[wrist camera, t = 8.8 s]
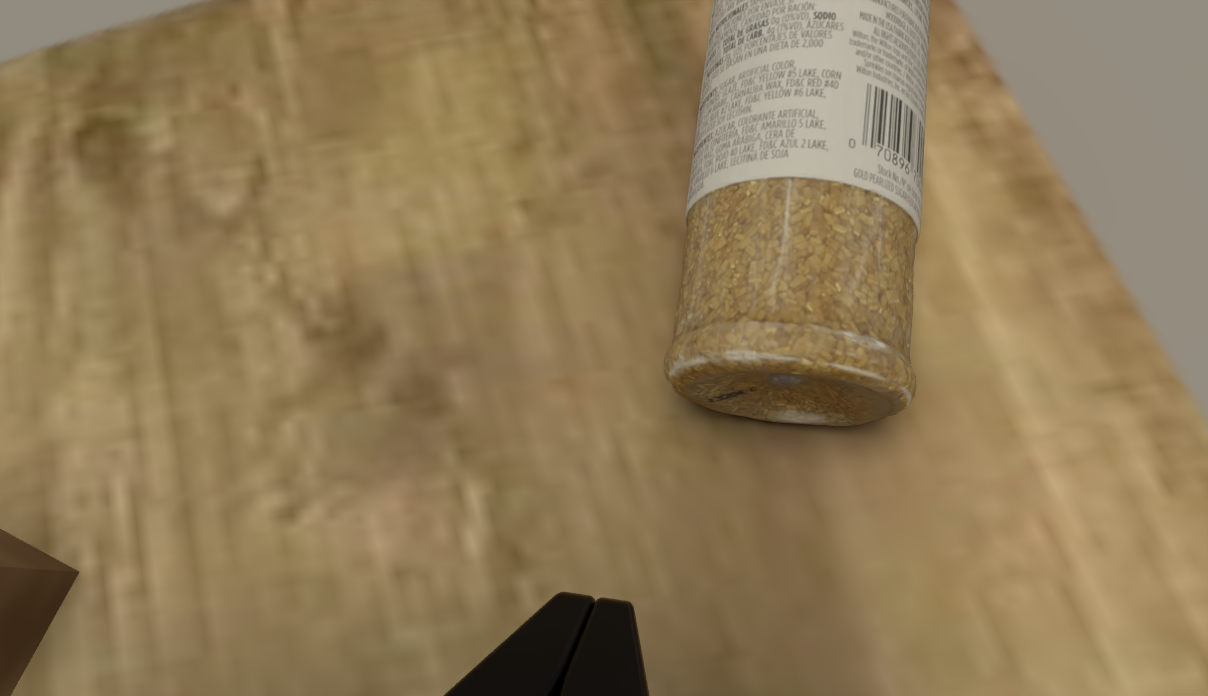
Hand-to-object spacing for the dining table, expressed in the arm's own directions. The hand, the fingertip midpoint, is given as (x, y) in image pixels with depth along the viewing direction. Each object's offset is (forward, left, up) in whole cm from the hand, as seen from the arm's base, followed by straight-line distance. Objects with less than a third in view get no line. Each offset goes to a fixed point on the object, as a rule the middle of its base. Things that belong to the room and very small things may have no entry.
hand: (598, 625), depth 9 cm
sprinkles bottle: (+4, 0, -5) cm, 7 cm away
